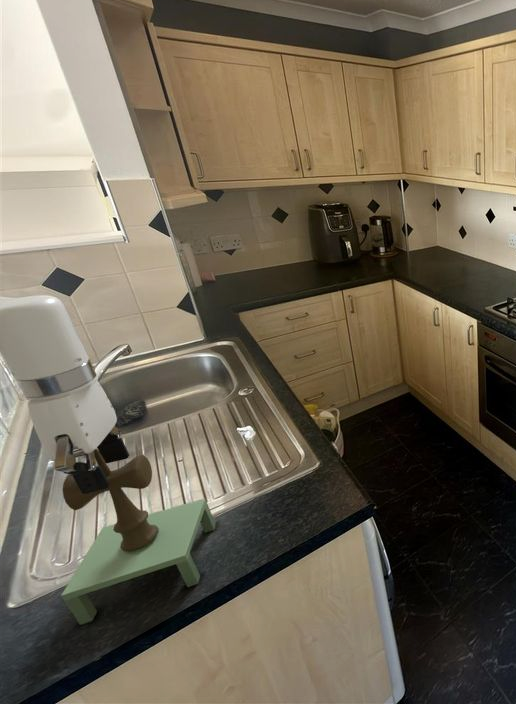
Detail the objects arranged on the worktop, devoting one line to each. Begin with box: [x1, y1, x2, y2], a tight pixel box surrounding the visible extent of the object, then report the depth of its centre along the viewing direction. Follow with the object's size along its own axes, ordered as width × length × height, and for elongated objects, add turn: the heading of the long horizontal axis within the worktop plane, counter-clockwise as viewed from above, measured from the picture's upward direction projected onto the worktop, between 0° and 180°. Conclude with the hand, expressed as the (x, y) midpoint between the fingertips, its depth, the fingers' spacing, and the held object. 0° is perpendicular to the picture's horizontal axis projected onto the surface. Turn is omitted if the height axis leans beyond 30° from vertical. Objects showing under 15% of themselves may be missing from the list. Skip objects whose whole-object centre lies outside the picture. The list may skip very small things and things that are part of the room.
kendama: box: [61, 448, 159, 551], centre depth 68 cm, size 6×10×20 cm, turn 118°
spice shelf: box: [60, 498, 217, 626], centre depth 73 cm, size 16×14×7 cm
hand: (107, 473), depth 66 cm, fingers open, 6 cm apart
